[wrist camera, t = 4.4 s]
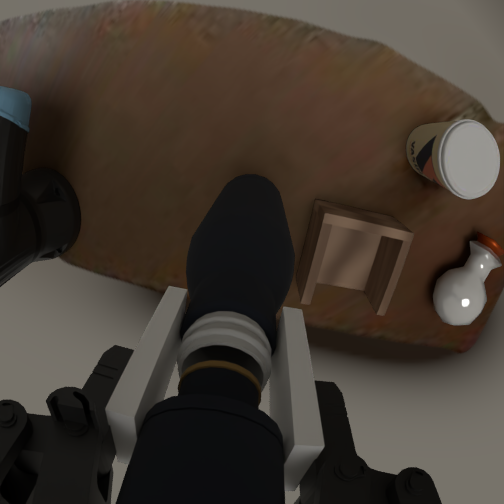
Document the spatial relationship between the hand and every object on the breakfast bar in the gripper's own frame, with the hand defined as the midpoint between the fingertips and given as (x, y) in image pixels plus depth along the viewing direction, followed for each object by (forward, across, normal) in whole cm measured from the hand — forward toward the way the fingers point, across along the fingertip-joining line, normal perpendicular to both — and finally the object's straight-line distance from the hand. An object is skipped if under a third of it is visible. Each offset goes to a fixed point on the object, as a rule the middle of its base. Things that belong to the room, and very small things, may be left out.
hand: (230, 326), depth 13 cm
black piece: (+21, 0, 0) cm, 21 cm away
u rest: (+32, +15, -6) cm, 36 cm away
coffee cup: (+32, +24, +11) cm, 42 cm away
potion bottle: (+32, +36, -6) cm, 48 cm away
